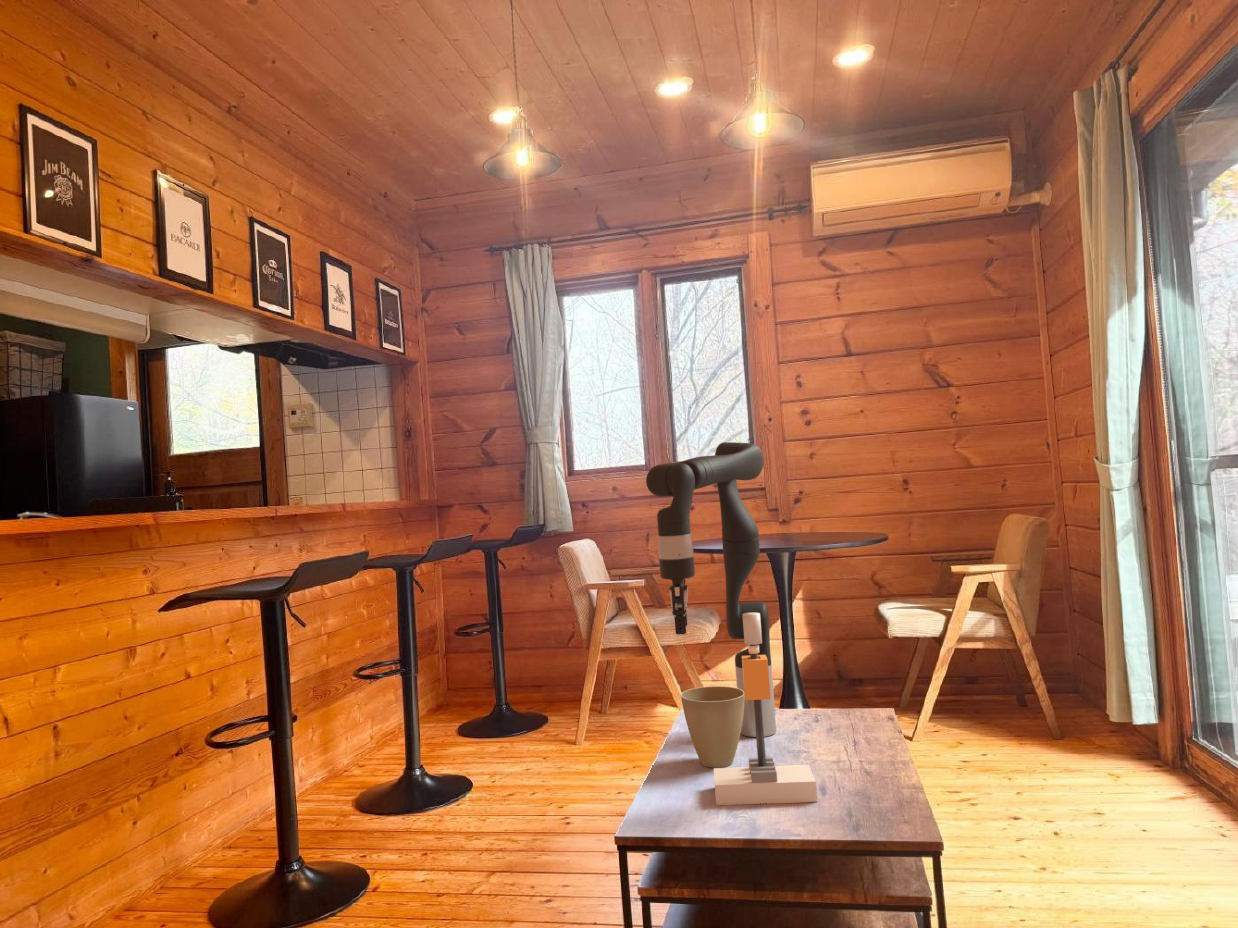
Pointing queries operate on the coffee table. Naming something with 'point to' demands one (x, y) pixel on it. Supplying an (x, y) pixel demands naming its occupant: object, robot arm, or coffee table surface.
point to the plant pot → (714, 722)
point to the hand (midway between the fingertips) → (681, 630)
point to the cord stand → (762, 758)
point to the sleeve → (756, 678)
